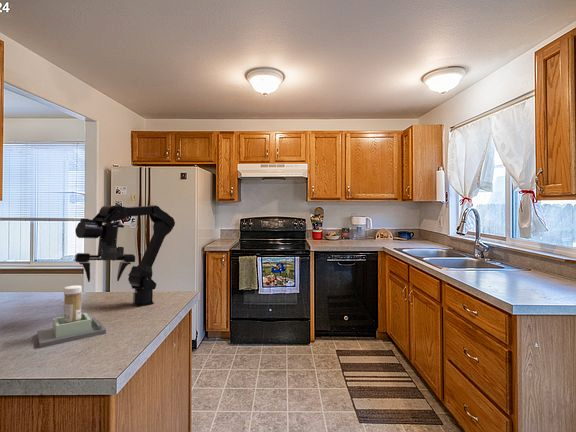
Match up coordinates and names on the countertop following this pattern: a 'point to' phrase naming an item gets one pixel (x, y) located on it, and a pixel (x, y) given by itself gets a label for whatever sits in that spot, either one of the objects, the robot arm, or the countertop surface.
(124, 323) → the countertop surface
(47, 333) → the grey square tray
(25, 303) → the countertop surface
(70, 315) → the sprinkles bottle
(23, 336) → the countertop surface
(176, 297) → the countertop surface
